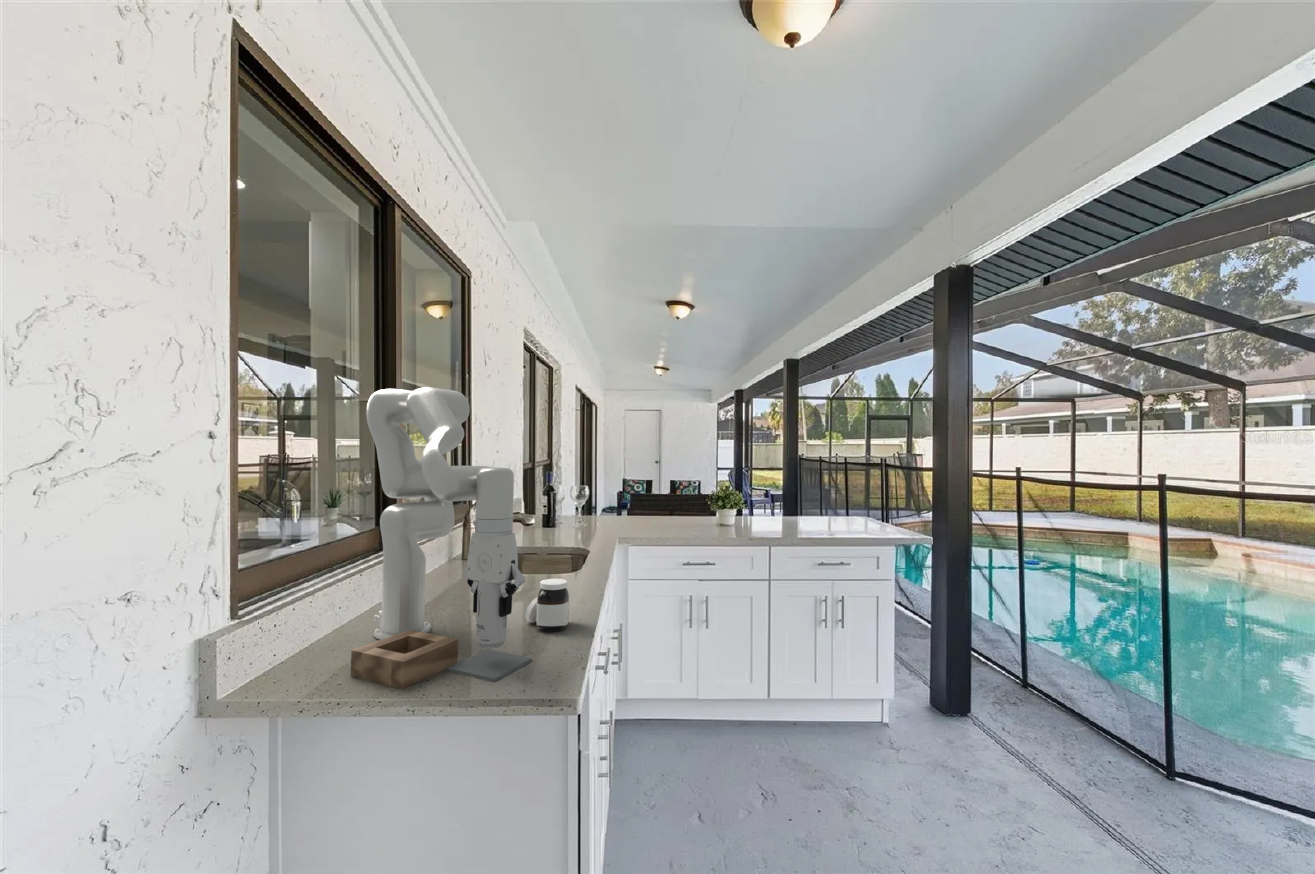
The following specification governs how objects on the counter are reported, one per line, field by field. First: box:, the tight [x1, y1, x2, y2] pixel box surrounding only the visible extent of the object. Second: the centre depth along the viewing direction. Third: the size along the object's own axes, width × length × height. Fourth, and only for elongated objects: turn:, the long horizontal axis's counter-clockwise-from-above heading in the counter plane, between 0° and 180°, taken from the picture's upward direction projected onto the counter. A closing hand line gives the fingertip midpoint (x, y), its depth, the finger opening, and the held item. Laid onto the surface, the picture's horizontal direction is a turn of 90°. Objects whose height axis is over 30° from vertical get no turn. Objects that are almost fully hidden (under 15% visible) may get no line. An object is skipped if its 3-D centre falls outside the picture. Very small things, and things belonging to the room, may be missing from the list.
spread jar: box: [524, 578, 570, 633], centre depth 140 cm, size 12×11×12 cm
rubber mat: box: [446, 648, 533, 682], centre depth 113 cm, size 12×12×1 cm
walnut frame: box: [350, 630, 459, 690], centre depth 111 cm, size 14×14×5 cm
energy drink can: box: [475, 580, 508, 649], centre depth 114 cm, size 6×6×15 cm
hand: (492, 612), depth 114 cm, fingers closed on energy drink can, 6 cm apart
